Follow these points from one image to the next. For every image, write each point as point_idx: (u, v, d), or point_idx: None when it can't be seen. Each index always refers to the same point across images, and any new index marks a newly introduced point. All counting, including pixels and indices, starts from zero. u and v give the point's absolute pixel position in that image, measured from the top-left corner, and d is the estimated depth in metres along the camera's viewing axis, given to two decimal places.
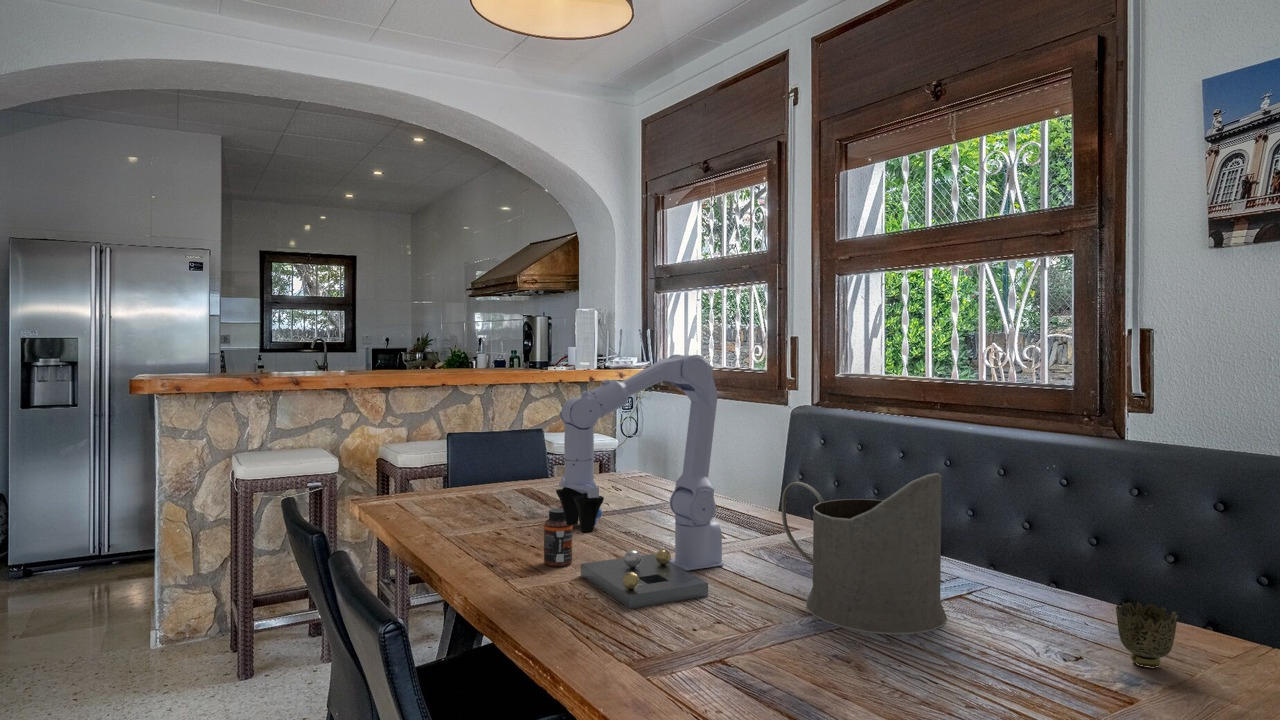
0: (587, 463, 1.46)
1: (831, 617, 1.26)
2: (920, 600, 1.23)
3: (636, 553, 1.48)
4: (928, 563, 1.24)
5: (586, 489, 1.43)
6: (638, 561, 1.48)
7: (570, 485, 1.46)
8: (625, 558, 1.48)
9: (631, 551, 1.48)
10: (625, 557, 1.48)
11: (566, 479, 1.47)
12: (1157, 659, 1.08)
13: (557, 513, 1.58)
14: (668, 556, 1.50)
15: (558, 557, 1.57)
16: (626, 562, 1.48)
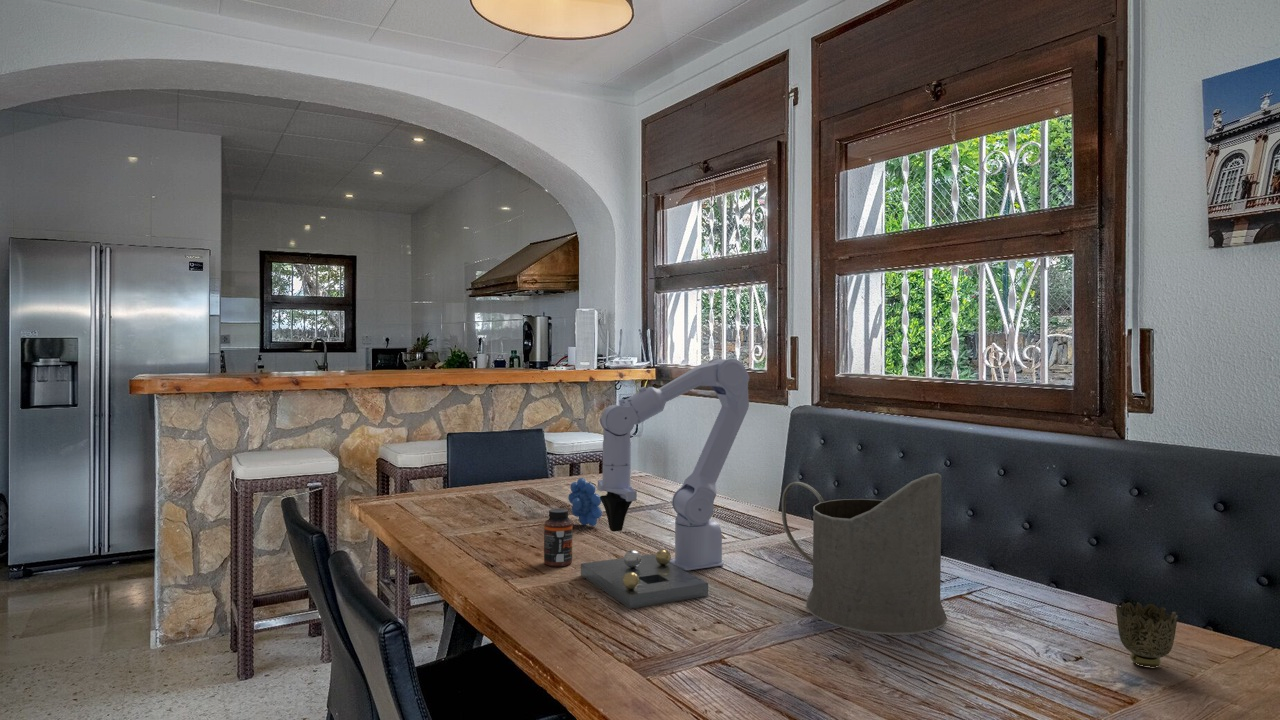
0: (625, 468, 1.53)
1: (831, 617, 1.26)
2: (920, 600, 1.23)
3: (636, 553, 1.48)
4: (928, 563, 1.23)
5: (624, 493, 1.50)
6: (638, 561, 1.48)
7: (609, 489, 1.53)
8: (625, 558, 1.48)
9: (631, 551, 1.48)
10: (625, 557, 1.48)
11: (604, 483, 1.54)
12: (1157, 659, 1.08)
13: (557, 513, 1.58)
14: (668, 556, 1.50)
15: (558, 557, 1.57)
16: (626, 562, 1.48)
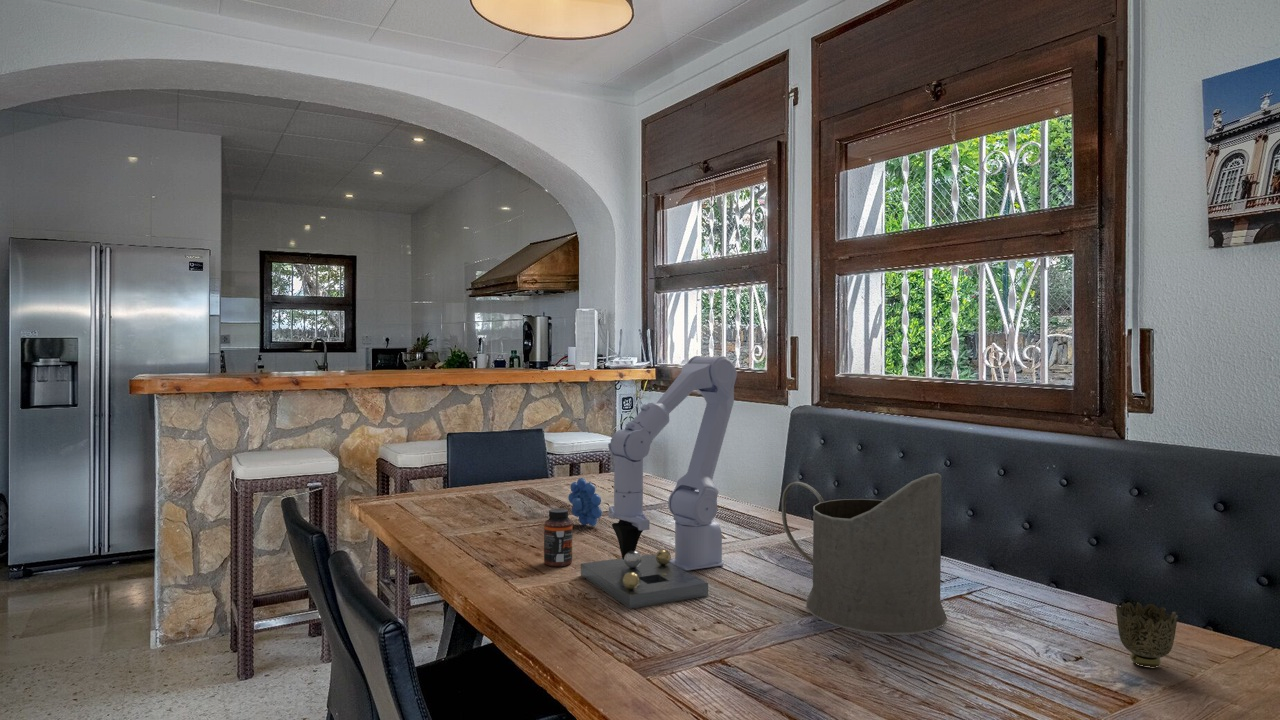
0: (637, 495, 1.48)
1: (831, 617, 1.26)
2: (920, 600, 1.23)
3: (636, 554, 1.48)
4: (928, 563, 1.23)
5: (637, 521, 1.45)
6: (638, 562, 1.48)
7: (620, 517, 1.48)
8: (625, 559, 1.48)
9: (631, 552, 1.48)
10: (625, 558, 1.48)
11: (616, 510, 1.49)
12: (1157, 659, 1.08)
13: (557, 513, 1.58)
14: (668, 556, 1.50)
15: (558, 557, 1.57)
16: (626, 563, 1.48)
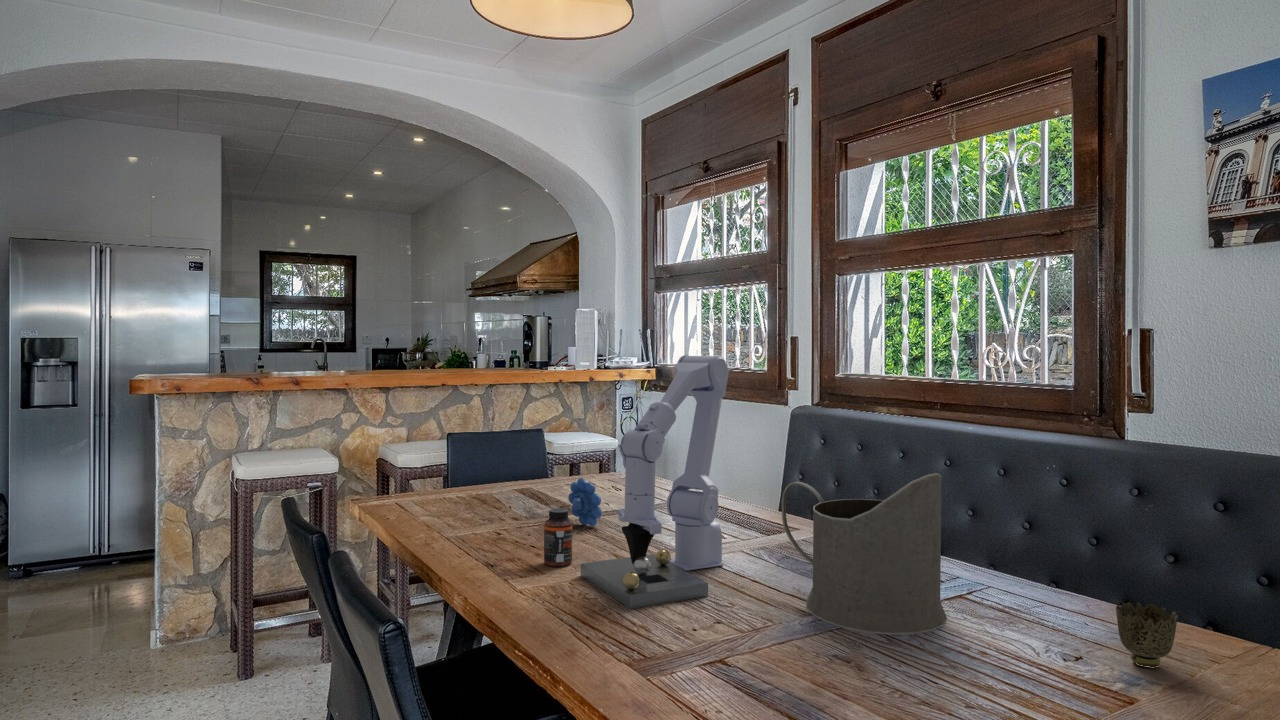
0: (649, 498, 1.43)
1: (831, 617, 1.26)
2: (920, 600, 1.23)
3: None
4: (928, 563, 1.24)
5: (648, 525, 1.40)
6: None
7: (631, 520, 1.43)
8: (634, 566, 1.44)
9: None
10: (634, 567, 1.44)
11: (626, 513, 1.44)
12: (1157, 659, 1.08)
13: (557, 513, 1.58)
14: (668, 556, 1.50)
15: (558, 557, 1.57)
16: (634, 563, 1.45)
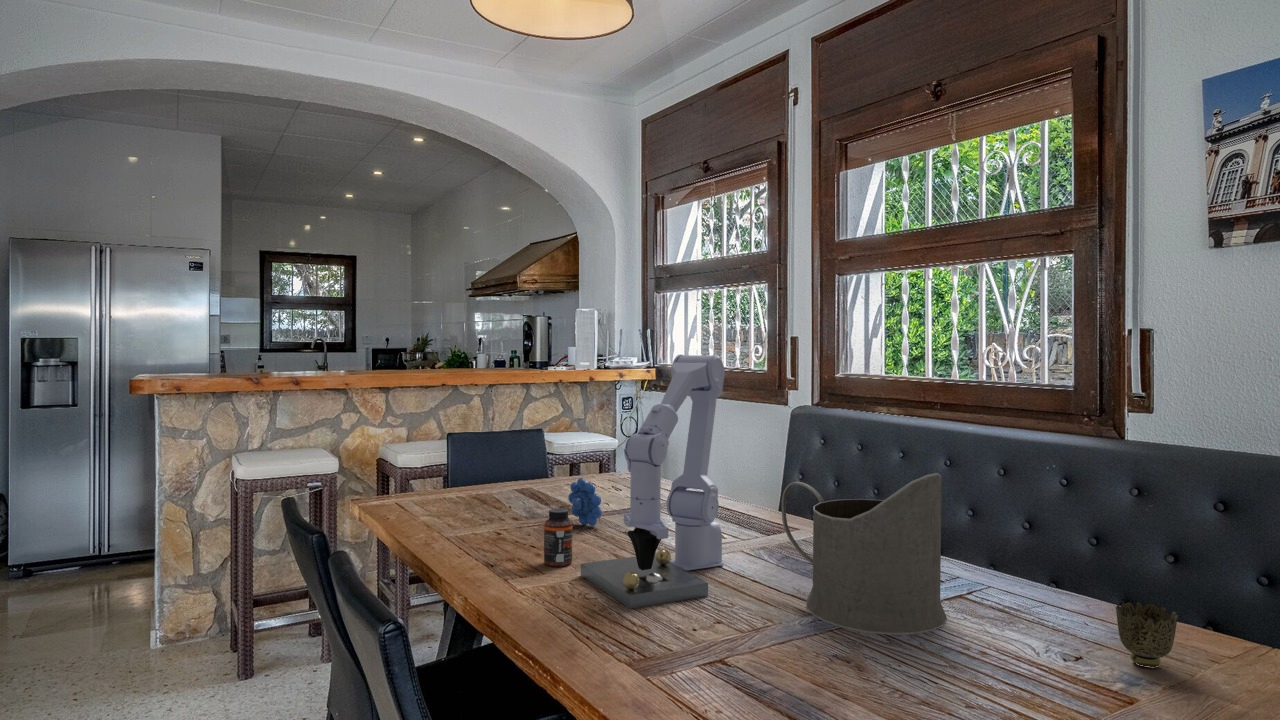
0: (654, 502, 1.42)
1: (831, 617, 1.26)
2: (920, 600, 1.23)
3: (659, 576, 1.41)
4: (928, 563, 1.24)
5: (655, 530, 1.38)
6: None
7: (637, 525, 1.41)
8: (647, 579, 1.41)
9: (654, 573, 1.42)
10: (647, 578, 1.41)
11: (632, 518, 1.43)
12: (1157, 659, 1.08)
13: (557, 513, 1.58)
14: (668, 556, 1.50)
15: (558, 557, 1.57)
16: None
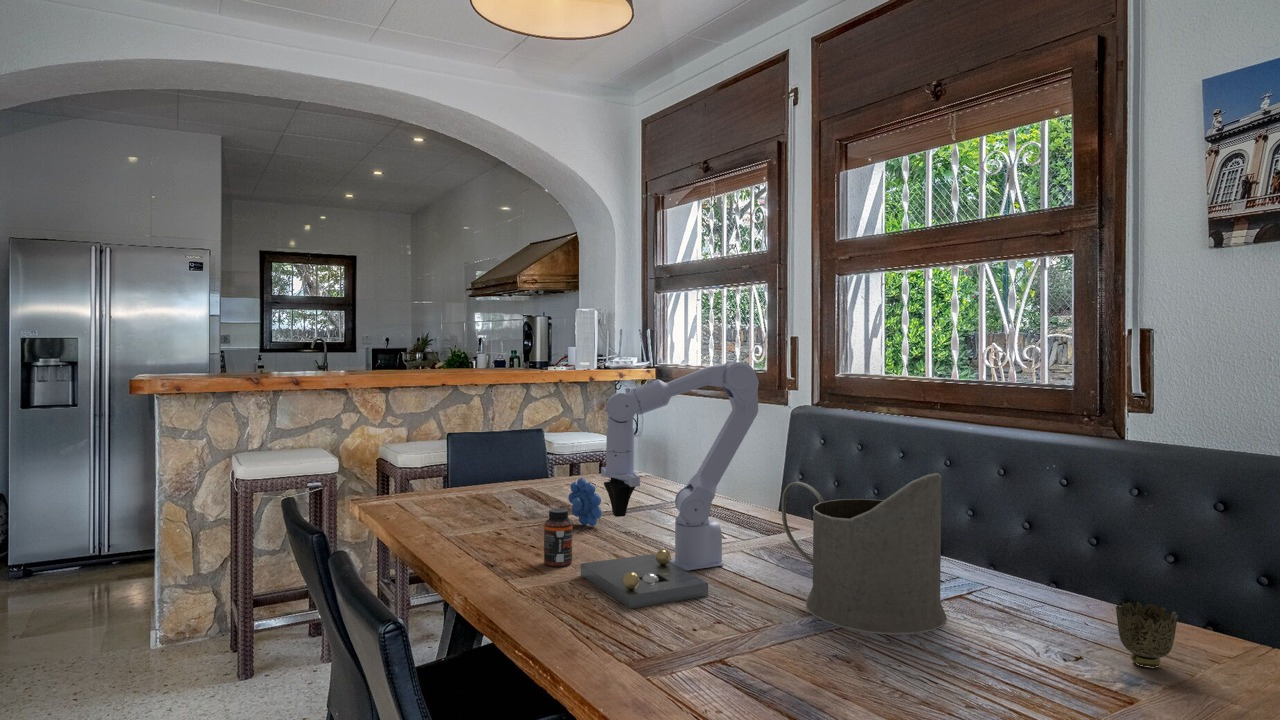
0: (628, 454, 1.56)
1: (831, 617, 1.26)
2: (920, 600, 1.23)
3: (652, 577, 1.41)
4: (928, 563, 1.24)
5: (628, 478, 1.53)
6: None
7: (612, 475, 1.56)
8: None
9: (647, 576, 1.41)
10: None
11: (608, 469, 1.57)
12: (1157, 659, 1.08)
13: (557, 513, 1.58)
14: (668, 556, 1.50)
15: (558, 557, 1.57)
16: None
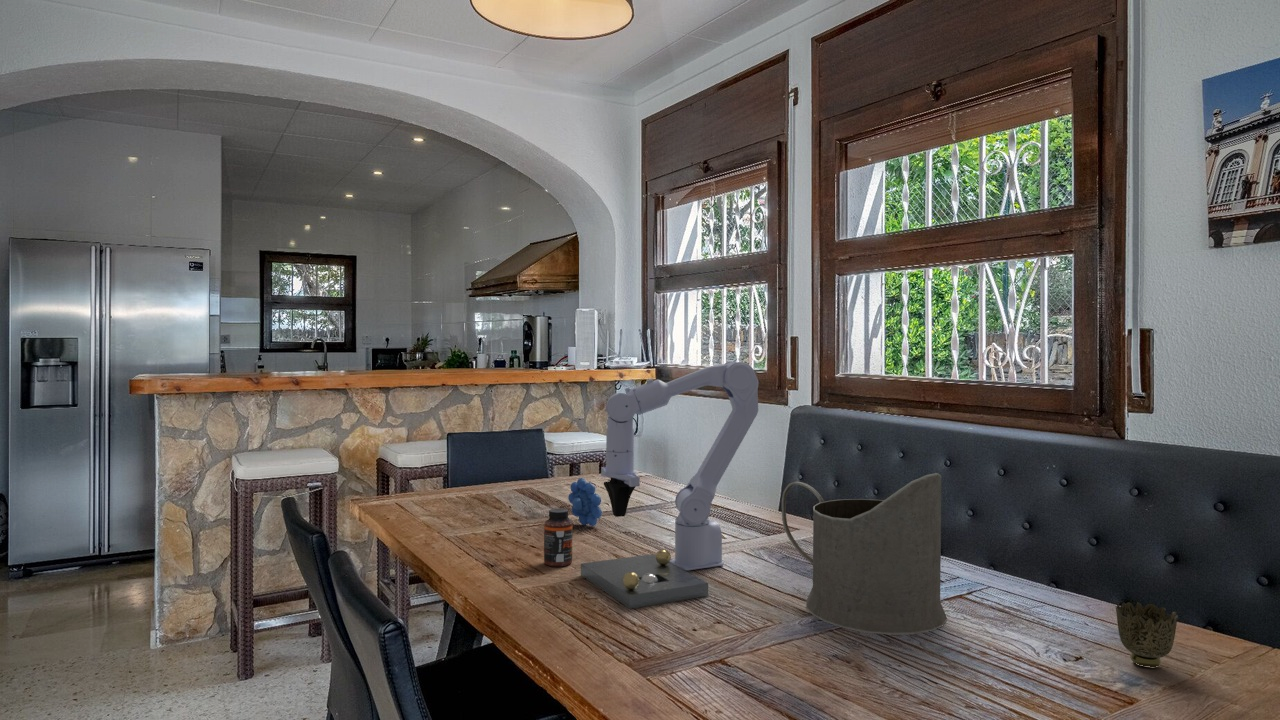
0: (628, 454, 1.56)
1: (831, 617, 1.26)
2: (920, 600, 1.23)
3: (651, 577, 1.41)
4: (928, 563, 1.24)
5: (628, 478, 1.53)
6: None
7: (612, 475, 1.56)
8: None
9: (645, 576, 1.41)
10: None
11: (608, 469, 1.57)
12: (1157, 659, 1.08)
13: (557, 513, 1.58)
14: (668, 556, 1.50)
15: (558, 557, 1.57)
16: None
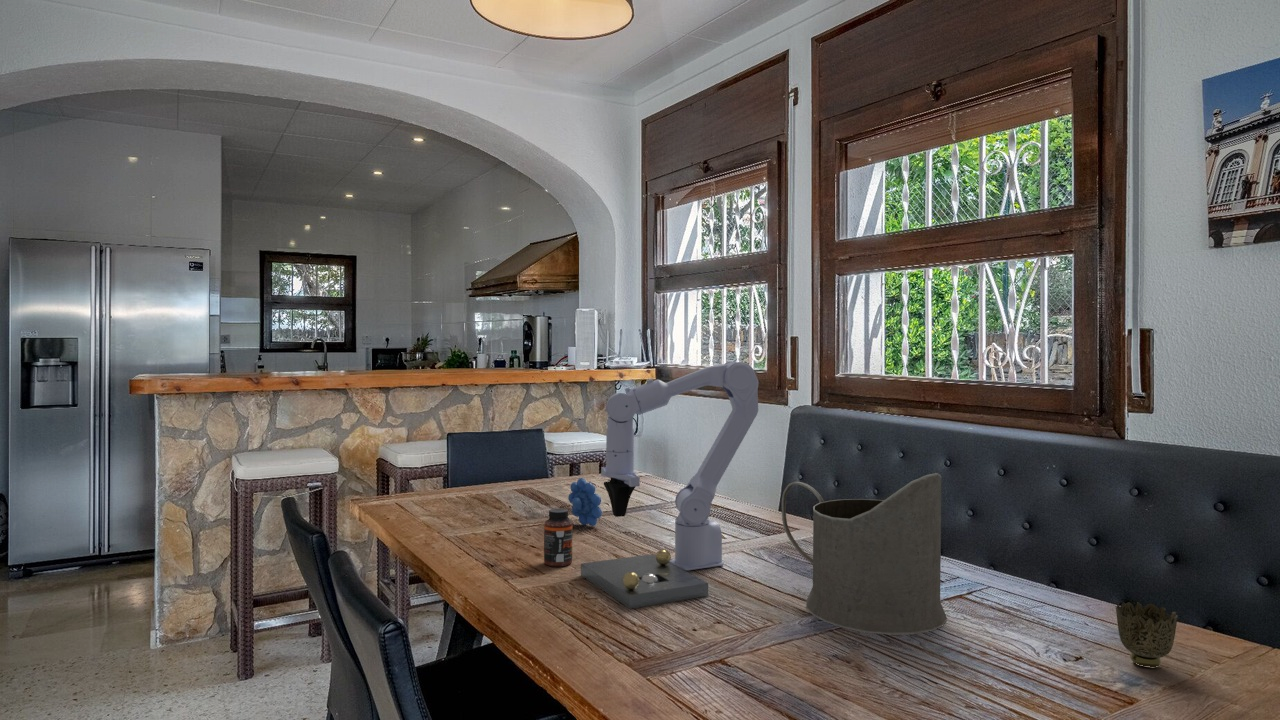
0: (628, 454, 1.56)
1: (831, 617, 1.26)
2: (920, 600, 1.23)
3: (651, 577, 1.41)
4: (928, 563, 1.24)
5: (628, 478, 1.53)
6: None
7: (612, 475, 1.56)
8: None
9: (645, 576, 1.41)
10: None
11: (608, 469, 1.57)
12: (1157, 659, 1.08)
13: (557, 513, 1.58)
14: (668, 556, 1.50)
15: (558, 557, 1.57)
16: None
